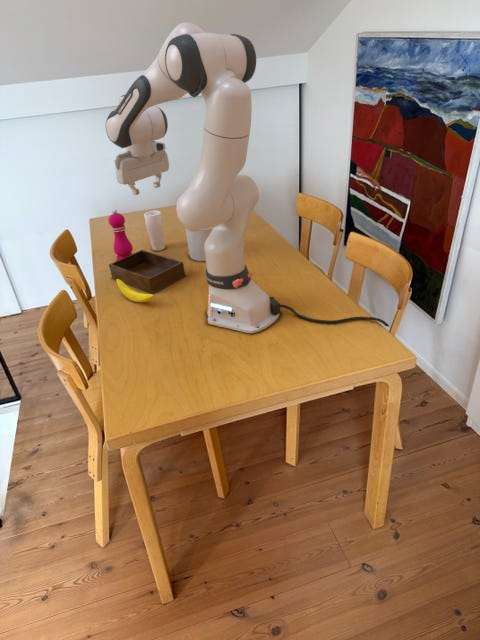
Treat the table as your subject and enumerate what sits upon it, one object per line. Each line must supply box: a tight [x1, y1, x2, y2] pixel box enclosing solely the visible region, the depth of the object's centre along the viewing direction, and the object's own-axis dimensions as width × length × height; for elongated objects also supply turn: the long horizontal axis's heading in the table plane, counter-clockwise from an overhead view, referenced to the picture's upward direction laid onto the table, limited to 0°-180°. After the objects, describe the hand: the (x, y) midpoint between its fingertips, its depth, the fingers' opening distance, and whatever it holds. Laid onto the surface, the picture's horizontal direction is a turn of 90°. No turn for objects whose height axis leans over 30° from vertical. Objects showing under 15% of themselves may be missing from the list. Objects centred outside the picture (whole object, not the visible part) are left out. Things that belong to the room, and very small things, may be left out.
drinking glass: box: [143, 210, 166, 252], centre depth 182 cm, size 7×7×15 cm
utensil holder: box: [184, 227, 213, 262], centre depth 173 cm, size 15×15×18 cm
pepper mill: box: [108, 209, 134, 261], centre depth 175 cm, size 7×7×20 cm
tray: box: [108, 249, 186, 295], centre depth 163 cm, size 22×15×6 cm
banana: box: [114, 277, 155, 303], centre depth 147 cm, size 3×19×6 cm, turn 50°
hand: (147, 190), depth 155 cm, fingers open, 8 cm apart
